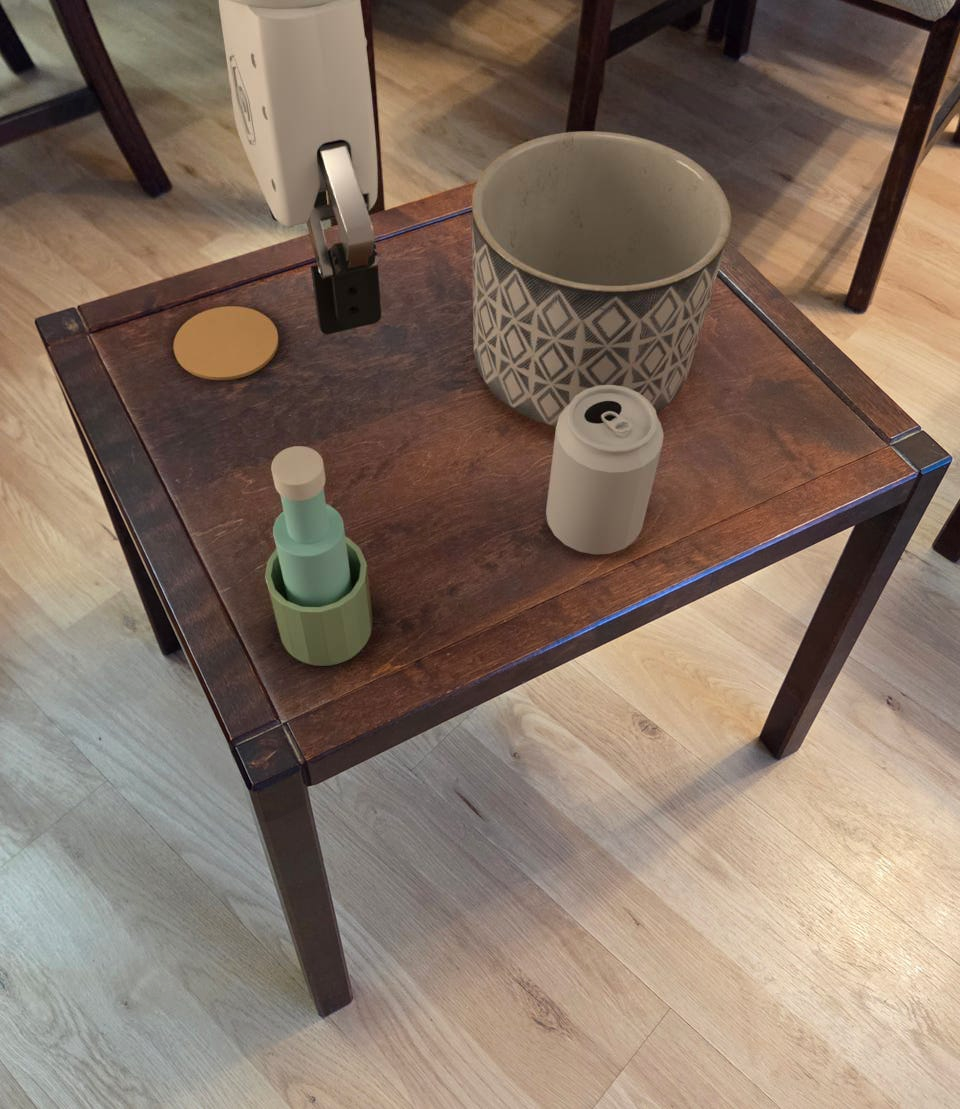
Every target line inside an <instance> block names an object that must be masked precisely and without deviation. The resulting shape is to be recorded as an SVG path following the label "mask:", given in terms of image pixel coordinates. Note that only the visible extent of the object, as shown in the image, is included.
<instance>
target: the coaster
mask: <svg viewBox="0 0 960 1109" xmlns="http://www.w3.org/2000/svg"><path fill="white" fill-rule="evenodd" d="M279 339H280V338H279V333H278V330H277V327H276V325H275V324H274V322H273V320H271V319H270V318H269V317H268V316H266V315H265V314H264V313H262V312H260V311H258V310H255V309H252V308H250V307H244V306H234V305H232V306H231V305H229V306H219V307H214V308H211V309H210V308H209V309H207V310H204V311H202V312H199V313H197V314H195V315H194V316H192V317H190V318H189V319H187V321H186V322H184V323H183V324H182V325H181V326H180V328H179V329H178V331H177V333H176V334H175V337H174V340H173V353H174V355H175V358H176V360H177V362H178V364H179V365H180V366H181V367H182V368H183V369H184V370H185V371H187V372H188V373H190V374H191V375H193V376H195V377H197V378H201V379H205V380H209V381H233V380H237V379H241V378H245V377H247V376H250V375H252V374H254V373H256V372H258V371H260V370H261V369H263V368H264V367H265V366H266V365H267V364H269V362H271V361H272V360H273V358H274V356H275V355H276V353H277V350H278V347H279V343H280V342H279Z"/></svg>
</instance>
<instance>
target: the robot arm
mask: <svg viewBox="0 0 960 1109" xmlns="http://www.w3.org/2000/svg"><path fill="white" fill-rule="evenodd" d="M217 2H218V8H219V15H220V24H221V30H222V37H223V46H224V51H225V58H226V65H227V66H226V67H227V73H228V80H229V88H230V95H231V103H232V108H233V109H232V111H233V117H234V122H235V126H236V130H237V133H238V136H239V139H240V143H241V145H242V147H243V149H244V152H245V154H246V156H247V159H248V162H249V164H250V166H251V168H252V171H253V173H254V175H255V178H256V180H257V182H258V183H257V184H258V185H259V187H260V190H261V192H262V194H263V196H264V199H265V201H266V203H267V205H268V209H269V213H270V215H271V218H272V220H274V221H275V222H278V223H280V224H281V225H283V226H284V227H286V228H289V229H290V228H294V227H295V226H298V225H304V224H306V226H307V231H308V234H309V238H310V242H311V246H312V250H313V253H314V258H315V262H316V264H315V265H310V271H311V273H310V274H311V281H312V288H313V295H314V296H313V297H314V302H315V309H316V310H315V311H316V318H317V324H318V327H319V329H320V332H321V333H322V334H323V335H332V334H336V333H340V332H345V331H349V330H352V329H353V330H354V329H357V328H361V327H367V326H370V325H374V324H377V323H378V322H380V321H381V319H382V306H381V292H380V290H381V289H380V276H379V275H380V274H379V258H378V252H377V246H376V243H375V242H376V236H375V230H374V226H373V223H372V220H371V219H372V218H371V217H370V213H369V211H370V210H371V209H373V207H374V206H375V204H376V202H377V199H378V193H379V192H378V189H379V178H378V177H379V176H378V175H379V172H378V170H379V169H378V153H377V152H378V151H377V140H376V138H377V137H376V127H375V126H376V125H375V116H374V105H373V104H374V103H373V94H372V85H371V76H370V66H369V59H368V58H369V57H368V51H367V49H368V48H367V46H368V40H367V38H366V34H365V25H364V18H363V11H362V10H363V9H362V3H361V0H218V1H217ZM327 194H328V195H327ZM328 197H329V200H330V203H329V204H328ZM334 219H336V224H337V227H338V239H339V242H338V243H333V244H332V245H331V246H330V248H329V247H328V242H327V239H326V235H325V230H324V227H323V223H322V222H324V221H329V220H334Z"/></svg>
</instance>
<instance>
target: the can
mask: <svg viewBox="0 0 960 1109" xmlns="http://www.w3.org/2000/svg"><path fill="white" fill-rule="evenodd" d="M657 414H658V413H656V410H655V409H654V407H653V406H652V404H651V403H650V402H649V400H648V399H646V398H645V397H644V396H642V395H641V394H640V393H638V392H636V391H634V390H631V389H629V388H626V387H622V386H616V385H598V386H595V387H592V388H588V389H585V390H584V391H582V392H581V393H579V394H578V395H576V396H575V397H574V399H573V400H572V401H571V403H570V404H569V405H567V406H566V408H565V409H564V410H563V411H562V413H561V414H560V415H559V418H558V422H557V426H556V427H555V433H554V441H553V448H552V449H553V450H552V458H551V465H550V466H551V467H550V474H549V483H548V492H547V500H546V507H545V508H546V509H545V515H546V521H547V525H548V527H549V529H550V531H551V532H552V533H553V535H554V536H555V537H556V538H557V539H558V540H559V541H560V542H561V543H562V544H564V545H565V546H567V547H568V548H571V549H573V550H575V551H577V552H579V553H585V554H588V555H589V554H590V555H610V554H613V553H616V552H619V551H622V550H625V549H626V548H627V547H629V546H630V545H631V544H633V543H634V542H635V541H636V540H637V538H638V537H639V535H640V533H641V532H642V530H643V526H644V522H645V518H646V514H647V509H648V506H649V501H650V499H651V498H650V497H651V493H652V489H653V485H654V481H655V477H656V473H657V469H658V465H659V462H660V461H659V460H660V456H661V454H662V453H661V452H662V449H663V442H664V436H665V434H664V431H663V427H662V423H661V421H660V420H659V417H658V415H657Z"/></svg>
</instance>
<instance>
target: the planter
mask: <svg viewBox="0 0 960 1109" xmlns="http://www.w3.org/2000/svg"><path fill="white" fill-rule="evenodd" d="M730 207H731V206H730V204H729V201H728V198H727V196H726V194H725V192H724V191H723V189H722V187H721V186H720V184H719V183H718V182H717V180H716V179H715V178H714V177H713V175H711V174H710V173H709V172H708V171H707V170H706V169H705V168H704V167H702V166H701V165H700V164H699V163H698V162H696V161H695V160H693V159H692V158H690V157H688V155H687V156H686V155H685V154H683V153H682V152H680V151H677V150H675V149H673V148H671V147H670V146H667V145H665V144H661V143H659V142H656V141H653V140H650V139H647V138H643V137H639V136H635V135H630V134H626V133H620V132H619V133H618V132H610V131H595V130H594V131H593V130H589V131H588V130H585V131H584V130H581V131H567V132H559V133H553V134H548V135H545V136H541V137H537V138H534V139H531V140H528V141H525V142H523V143H520V144H518V145H516V146H514V147H512V148H510V149H508V150H506V151H505V152H504V153H502V154H500V155H499V156H497V157H496V158H495V159H494V160H492V162H491V163H490V164H488V165H487V166H486V168H485V169H484V170H483V172H481V175H479V177H478V179H477V181H476V183H475V185H474V188H473V192H472V198H471V231H472V232H471V234H472V235H471V239H472V240H471V242H472V247H471V248H472V317H473V318H472V332H473V334H472V335H473V336H472V337H473V340H472V341H473V356H474V361H475V364H476V367H477V370H478V372H479V375H480V377H481V378H482V380H483V382H484V383H485V384H486V386H487V387H488V389H489V390H490V391H491V392H492V393H493V394H494V396H496V397H497V399H499V400H500V401H501V402H502V403H504V405H506V406H508V407H509V408H510V409H512V410H513V411H515V412H516V413H517V414H520V415H522V416H524V417H526V418H528V419H531V420H532V421H535V422H537V423H540V424H544V425H547V426H550V427H554V428H556V426H557V422H558V418H559V415H560V414H561V413H562V411H563V410H564V409H565V408H566V406H567V405H569V404H570V403H571V401H572V400H573V399H574V397H575V396H576V395H578V394H579V393H581V392H582V391H584V390H585V389H588V388H592V387H595V386H598V385H616V386H622V387H626V388H629V389H631V390H634V391H636V392H638V393H640V394H641V395H642V396H644V397H645V398H646V399H648V400H649V402H650V403H651V404H652V406H653V407H654V409H655V410H656V414H658V413H659V412H660V411H662V410H663V409H664V408H666V407H667V406H669V405H670V403H672V402H673V401H674V399H675V398H676V397H677V396H678V394H679V393H680V392H681V390H682V389H683V387H684V385H685V383H686V381H687V379H688V376H689V372H690V370H691V367H692V361H693V359H694V356H695V353H696V348H697V346H698V342H699V338H700V334H701V332H702V328H703V324H704V321H705V318H706V315H707V310H708V308H709V305H710V300H711V297H712V294H713V291H714V288H715V283H716V281H717V277H718V273H719V270H720V266H721V263H722V259H723V256H724V253H725V249H726V245H727V242H728V239H729V235H730V233H731V227H732V213H731V208H730Z"/></svg>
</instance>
